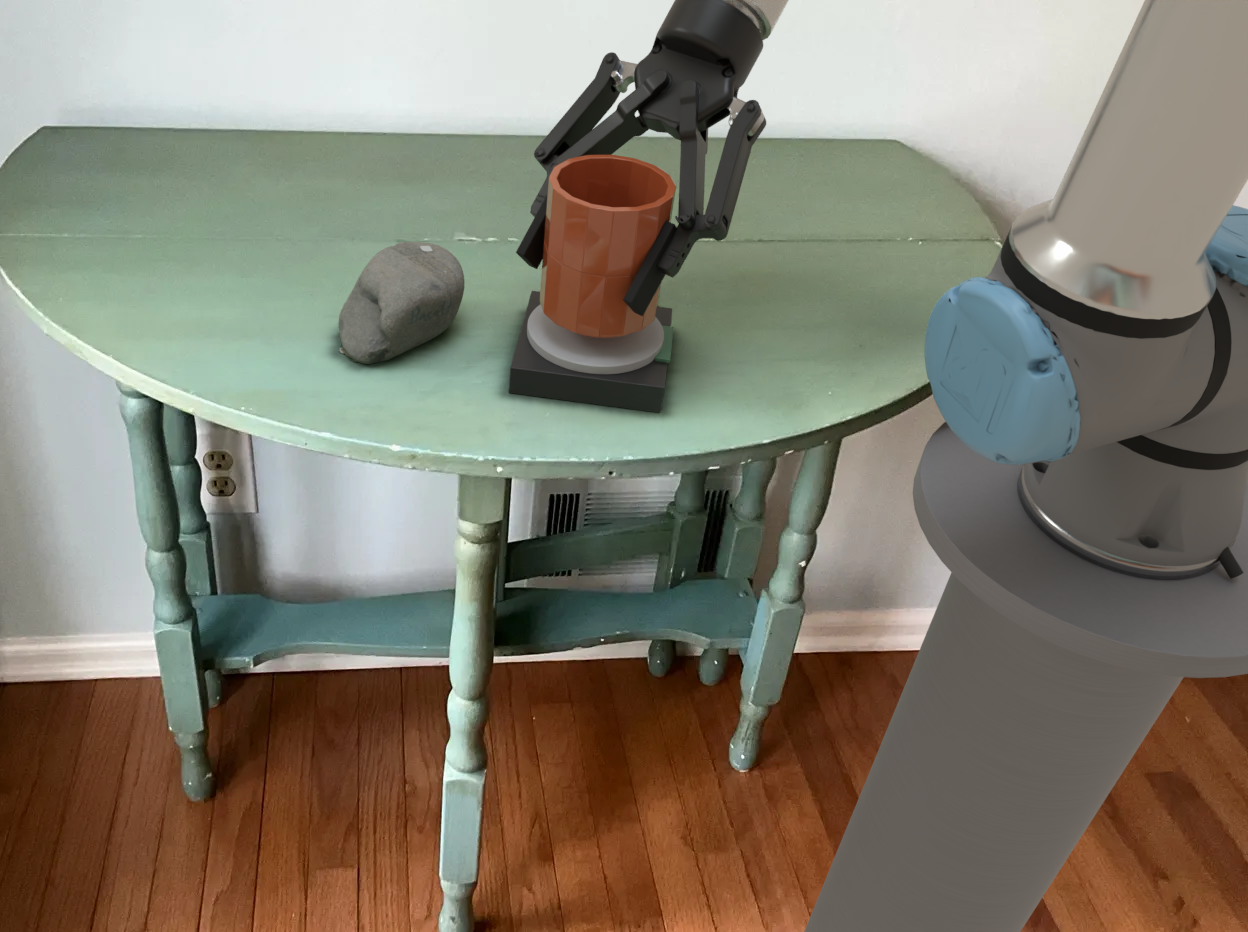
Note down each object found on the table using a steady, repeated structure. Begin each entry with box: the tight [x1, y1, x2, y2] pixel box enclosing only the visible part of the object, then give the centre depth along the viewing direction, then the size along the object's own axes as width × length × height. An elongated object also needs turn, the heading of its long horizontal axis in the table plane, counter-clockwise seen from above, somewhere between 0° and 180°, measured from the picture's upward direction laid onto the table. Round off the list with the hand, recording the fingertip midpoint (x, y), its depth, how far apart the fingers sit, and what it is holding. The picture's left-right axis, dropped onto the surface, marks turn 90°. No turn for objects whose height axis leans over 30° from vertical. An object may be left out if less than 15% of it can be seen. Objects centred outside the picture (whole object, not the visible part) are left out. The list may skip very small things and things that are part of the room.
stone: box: [337, 241, 465, 365], centre depth 98 cm, size 9×9×10 cm
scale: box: [508, 290, 674, 413], centre depth 96 cm, size 12×12×3 cm
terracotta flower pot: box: [539, 154, 677, 338], centre depth 91 cm, size 9×9×11 cm
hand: (578, 284), depth 90 cm, fingers closed on terracotta flower pot, 9 cm apart
